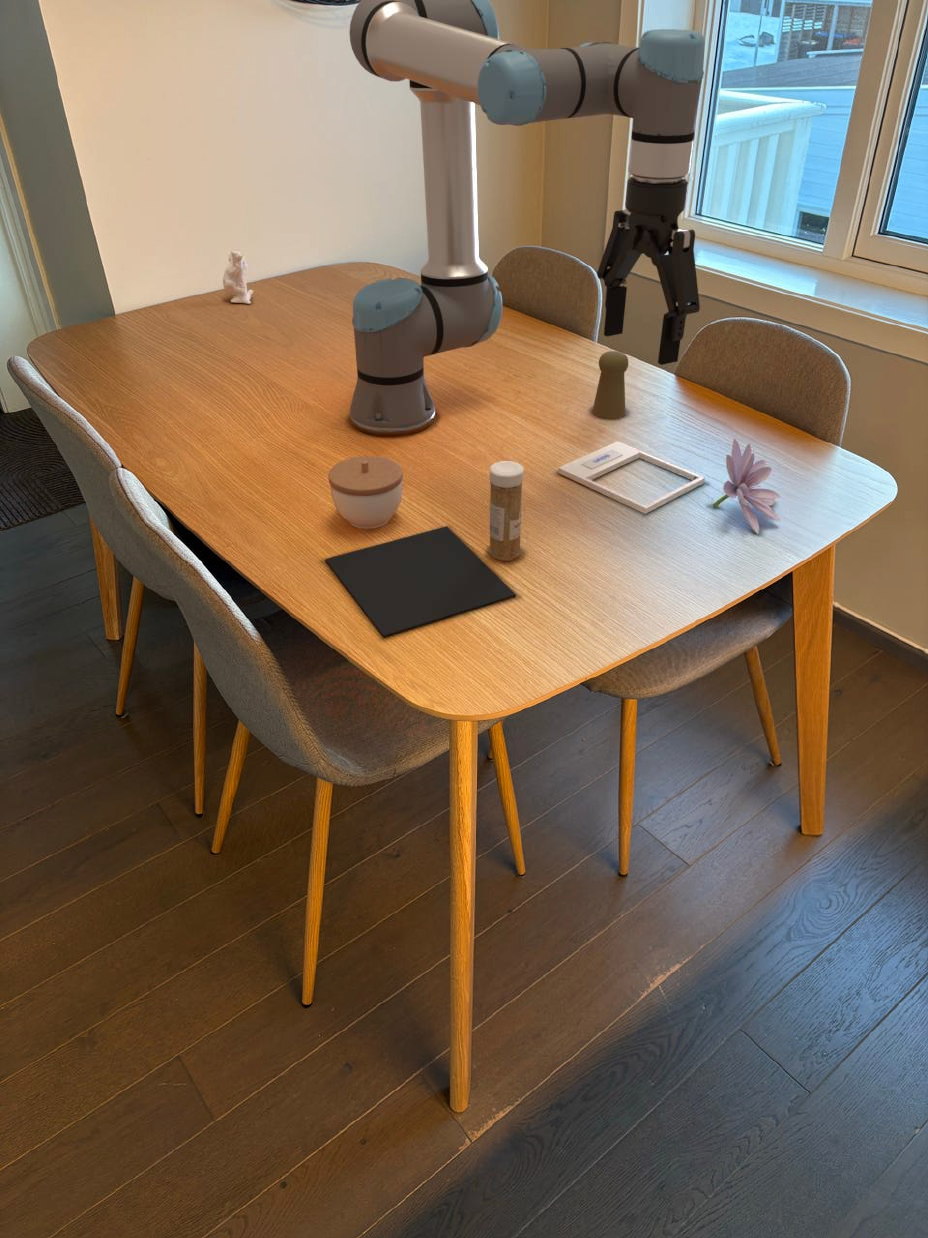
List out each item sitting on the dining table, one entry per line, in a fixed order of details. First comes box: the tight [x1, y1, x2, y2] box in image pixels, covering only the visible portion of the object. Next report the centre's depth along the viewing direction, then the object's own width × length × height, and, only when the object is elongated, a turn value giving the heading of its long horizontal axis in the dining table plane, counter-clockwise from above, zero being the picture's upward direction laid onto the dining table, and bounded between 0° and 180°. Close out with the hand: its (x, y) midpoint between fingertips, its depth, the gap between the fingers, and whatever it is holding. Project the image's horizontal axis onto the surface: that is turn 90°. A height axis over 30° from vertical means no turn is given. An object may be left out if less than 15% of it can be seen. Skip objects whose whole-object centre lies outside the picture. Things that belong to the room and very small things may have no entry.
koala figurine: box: [222, 250, 254, 305], centre depth 220 cm, size 8×7×12 cm
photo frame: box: [557, 440, 706, 515], centre depth 149 cm, size 15×1×18 cm
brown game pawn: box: [592, 350, 629, 420], centre depth 167 cm, size 6×6×11 cm
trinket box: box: [327, 455, 404, 530], centre depth 137 cm, size 11×11×9 cm
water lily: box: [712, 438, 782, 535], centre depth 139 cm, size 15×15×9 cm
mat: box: [324, 525, 517, 639], centre depth 126 cm, size 20×19×1 cm
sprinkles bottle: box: [488, 460, 525, 562], centre depth 127 cm, size 5×5×13 cm
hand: (639, 347), depth 129 cm, fingers open, 12 cm apart
